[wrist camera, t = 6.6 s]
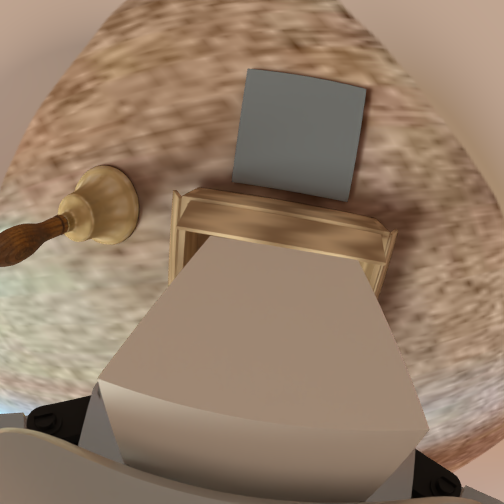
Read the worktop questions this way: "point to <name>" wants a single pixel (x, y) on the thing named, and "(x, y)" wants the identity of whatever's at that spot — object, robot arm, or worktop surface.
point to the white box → (265, 379)
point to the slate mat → (298, 134)
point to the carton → (277, 229)
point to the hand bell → (80, 216)
